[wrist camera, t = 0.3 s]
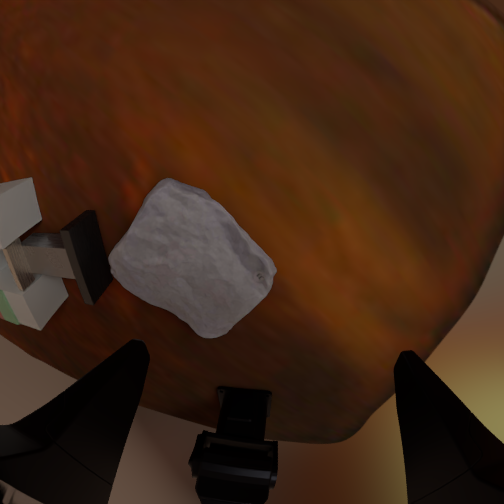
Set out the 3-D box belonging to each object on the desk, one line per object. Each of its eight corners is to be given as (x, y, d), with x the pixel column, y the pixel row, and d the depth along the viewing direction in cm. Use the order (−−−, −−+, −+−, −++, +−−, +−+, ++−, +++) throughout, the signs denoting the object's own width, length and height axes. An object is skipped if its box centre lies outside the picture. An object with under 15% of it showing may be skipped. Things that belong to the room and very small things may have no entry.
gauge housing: (68, 295, 28) (39, 332, 22) (20, 285, 29) (-7, 314, 23) (32, 177, 21) (-14, 203, 15) (-14, 186, 22) (-51, 209, 16)
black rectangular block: (113, 279, 25) (86, 315, 21) (50, 271, 26) (23, 300, 21) (94, 210, 21) (58, 239, 17) (30, 212, 22) (-3, 236, 18)
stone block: (172, 158, 21) (115, 253, 24) (156, 164, 17) (92, 278, 20) (291, 243, 24) (222, 322, 27) (302, 268, 20) (219, 356, 23)
